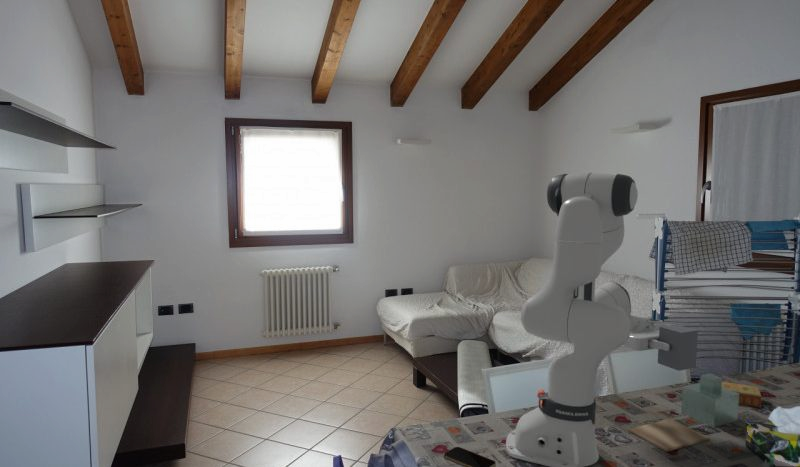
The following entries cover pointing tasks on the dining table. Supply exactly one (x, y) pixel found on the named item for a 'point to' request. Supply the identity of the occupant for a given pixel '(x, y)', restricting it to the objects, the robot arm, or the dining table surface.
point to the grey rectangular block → (678, 347)
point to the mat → (668, 434)
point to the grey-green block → (710, 401)
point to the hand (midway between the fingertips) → (680, 346)
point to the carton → (745, 393)
